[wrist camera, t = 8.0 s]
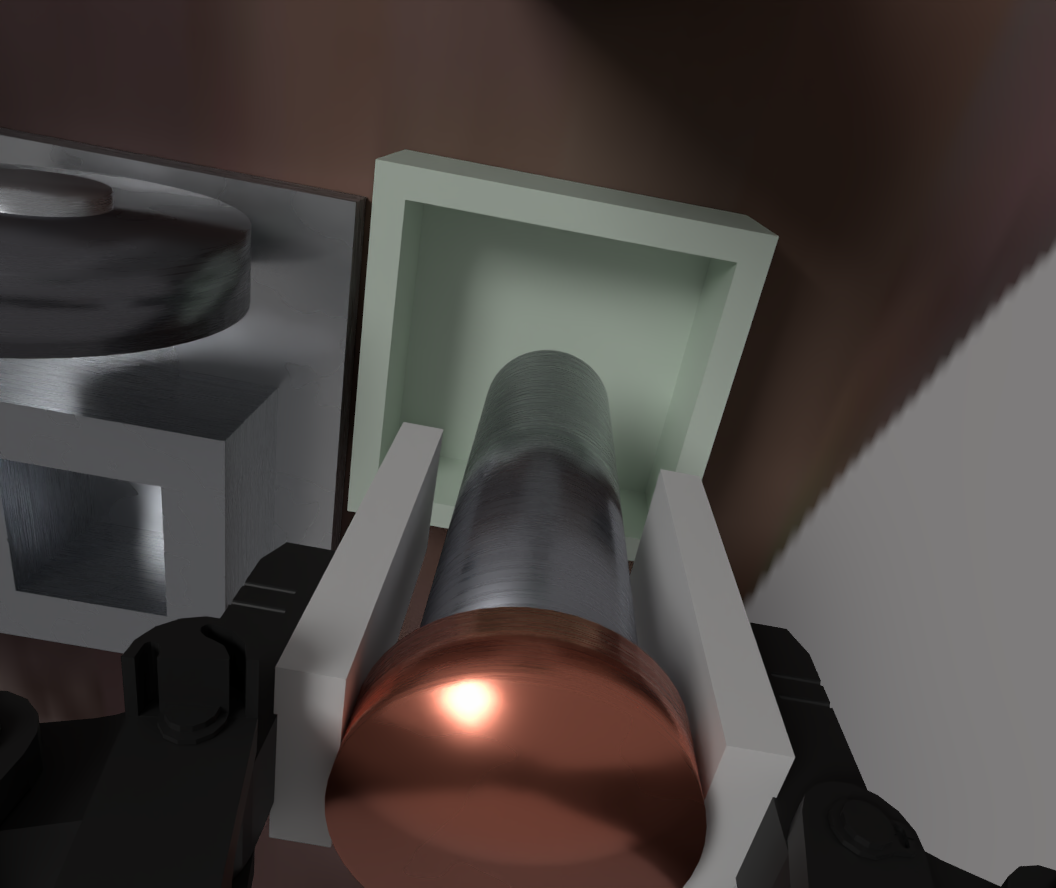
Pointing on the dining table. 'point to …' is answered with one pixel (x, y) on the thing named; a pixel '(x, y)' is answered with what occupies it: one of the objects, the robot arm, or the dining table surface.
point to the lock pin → (524, 680)
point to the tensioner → (163, 383)
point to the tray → (549, 313)
